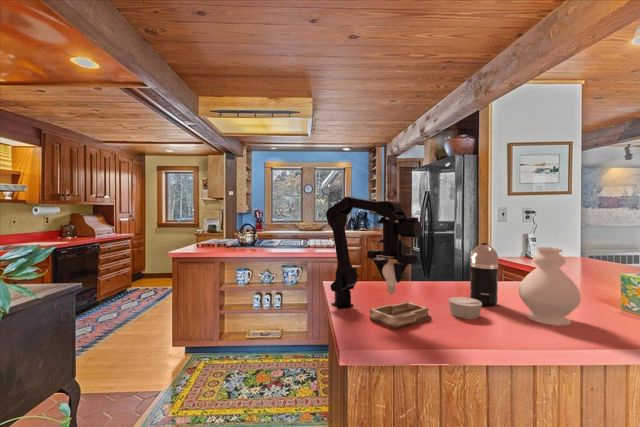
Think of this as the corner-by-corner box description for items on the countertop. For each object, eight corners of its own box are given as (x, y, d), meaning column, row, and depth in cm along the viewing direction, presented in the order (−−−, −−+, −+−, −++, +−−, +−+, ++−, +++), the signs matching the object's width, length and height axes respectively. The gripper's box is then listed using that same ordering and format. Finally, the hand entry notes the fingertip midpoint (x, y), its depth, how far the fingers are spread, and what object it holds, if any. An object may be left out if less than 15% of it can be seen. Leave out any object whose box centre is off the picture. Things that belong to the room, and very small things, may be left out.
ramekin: (476, 323, 110) (476, 307, 109) (443, 315, 117) (443, 301, 117) (485, 315, 118) (486, 300, 118) (454, 308, 125) (454, 295, 125)
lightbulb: (401, 296, 110) (401, 264, 110) (382, 295, 111) (382, 263, 111) (400, 291, 116) (399, 261, 116) (382, 291, 117) (381, 260, 117)
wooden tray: (369, 319, 113) (369, 309, 113) (404, 310, 123) (404, 301, 123) (395, 329, 103) (395, 319, 103) (431, 319, 113) (431, 309, 113)
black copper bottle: (470, 305, 129) (471, 243, 129) (469, 298, 139) (469, 240, 138) (499, 308, 125) (500, 244, 125) (496, 301, 135) (496, 241, 134)
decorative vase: (566, 332, 101) (567, 253, 100) (508, 316, 116) (509, 247, 115) (589, 322, 110) (590, 249, 110) (532, 308, 125) (533, 244, 125)
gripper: (427, 237, 110) (427, 282, 110) (386, 234, 125) (387, 274, 125) (406, 238, 104) (406, 287, 104) (366, 235, 119) (366, 277, 119)
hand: (391, 280), depth 113 cm, fingers closed on lightbulb, 6 cm apart
